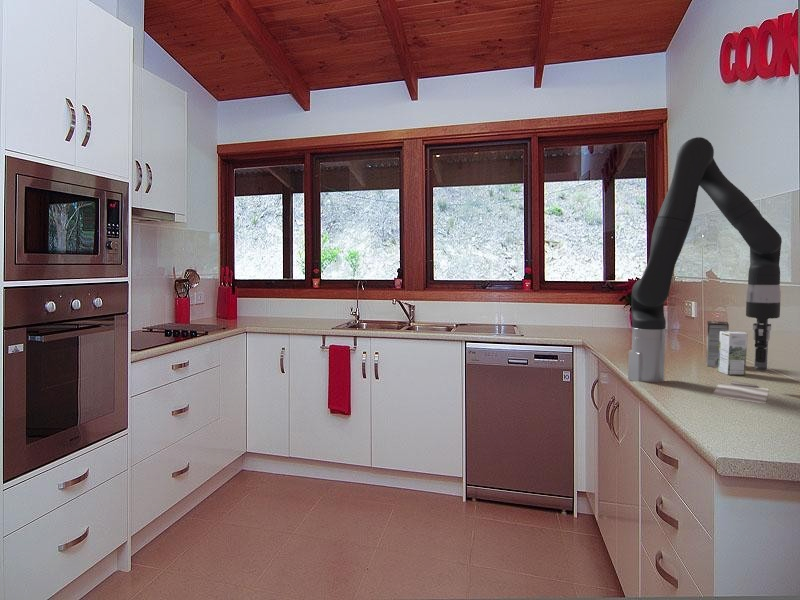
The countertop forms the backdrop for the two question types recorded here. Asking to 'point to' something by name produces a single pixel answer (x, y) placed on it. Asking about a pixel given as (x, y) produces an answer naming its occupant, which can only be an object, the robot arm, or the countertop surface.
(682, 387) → the countertop surface
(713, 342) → the coffee box
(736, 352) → the syrup box
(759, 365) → the marker
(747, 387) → the clipboard
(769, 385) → the countertop surface
